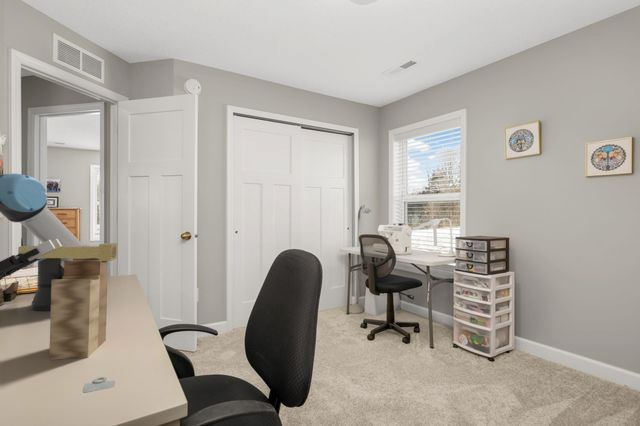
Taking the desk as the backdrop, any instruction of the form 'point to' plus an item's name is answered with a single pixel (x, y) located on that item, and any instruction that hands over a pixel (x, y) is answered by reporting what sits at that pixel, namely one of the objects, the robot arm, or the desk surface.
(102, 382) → the mounting bracket
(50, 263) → the robot arm
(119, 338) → the desk surface
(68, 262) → the hinge block
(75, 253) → the golden wooden bar
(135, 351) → the desk surface
